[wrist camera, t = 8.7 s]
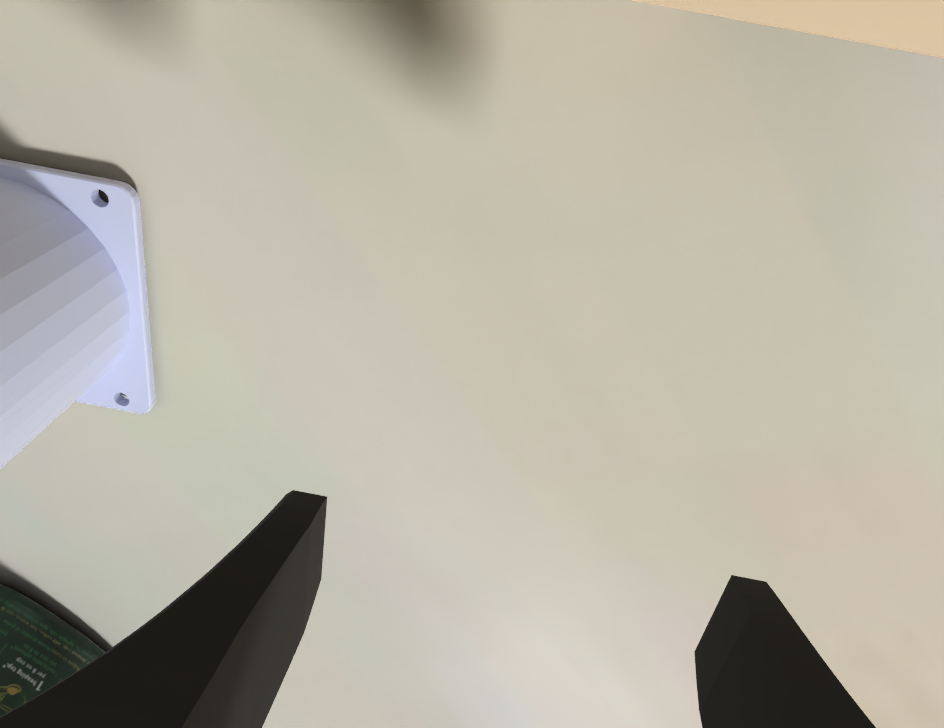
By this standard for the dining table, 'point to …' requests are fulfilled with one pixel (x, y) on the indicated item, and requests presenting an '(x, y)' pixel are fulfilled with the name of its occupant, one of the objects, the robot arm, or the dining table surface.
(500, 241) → the dining table surface
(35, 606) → the coffee jar
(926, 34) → the tan flat square block
